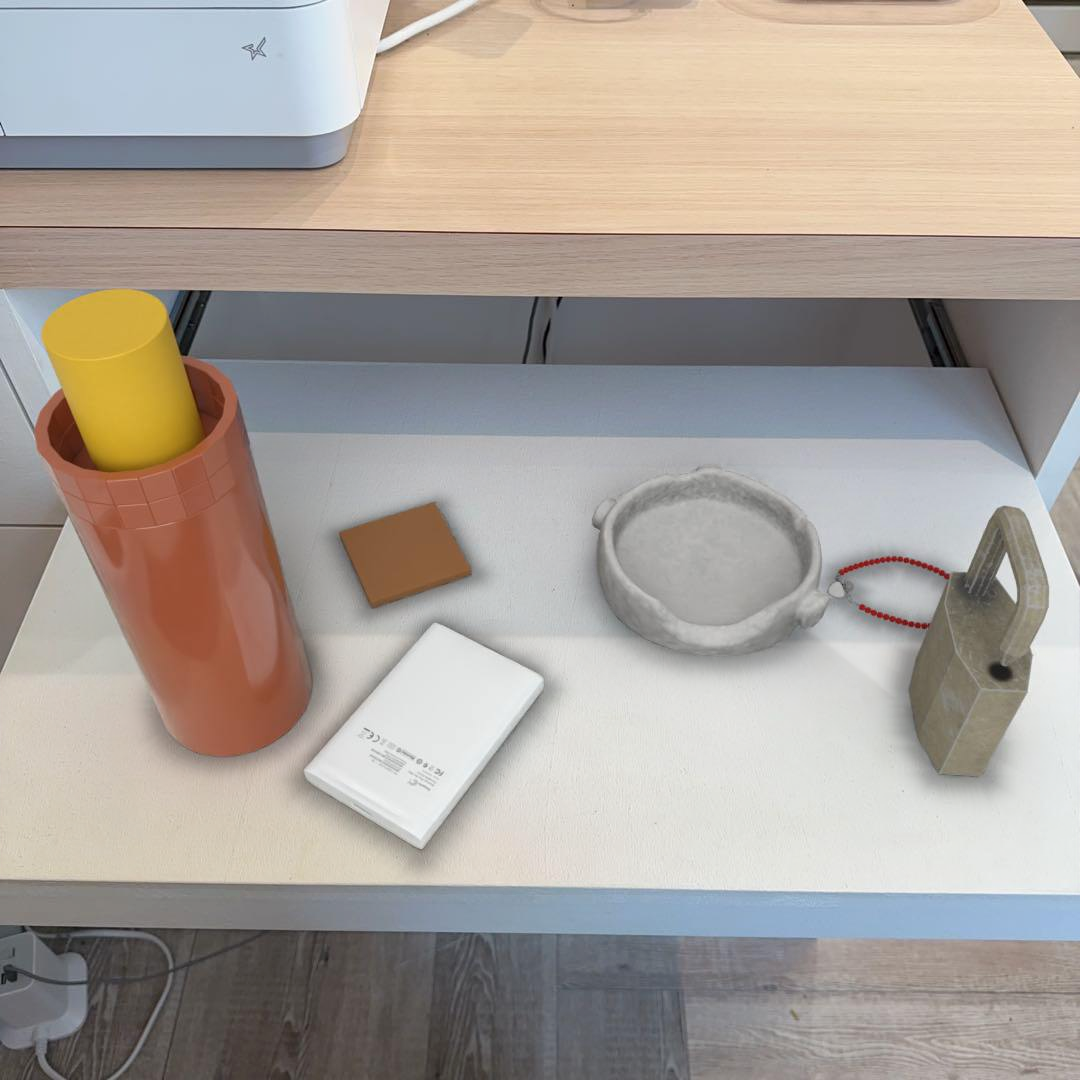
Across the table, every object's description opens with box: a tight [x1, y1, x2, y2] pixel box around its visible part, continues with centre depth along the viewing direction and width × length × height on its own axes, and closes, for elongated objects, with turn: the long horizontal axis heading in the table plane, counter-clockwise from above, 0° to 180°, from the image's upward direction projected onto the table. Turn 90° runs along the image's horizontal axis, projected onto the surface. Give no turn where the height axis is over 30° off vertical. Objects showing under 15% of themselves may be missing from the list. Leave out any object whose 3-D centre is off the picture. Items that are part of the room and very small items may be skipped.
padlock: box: [908, 505, 1050, 778], centre depth 59 cm, size 4×8×15 cm, turn 176°
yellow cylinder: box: [40, 288, 206, 473], centre depth 49 cm, size 5×5×8 cm
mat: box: [338, 502, 472, 609], centre depth 73 cm, size 7×7×1 cm
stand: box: [33, 355, 313, 757], centre depth 57 cm, size 9×9×22 cm
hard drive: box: [303, 622, 545, 850], centre depth 63 cm, size 2×8×12 cm
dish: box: [591, 463, 831, 657], centre depth 69 cm, size 14×14×5 cm
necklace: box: [826, 555, 950, 630], centre depth 70 cm, size 9×6×1 cm
